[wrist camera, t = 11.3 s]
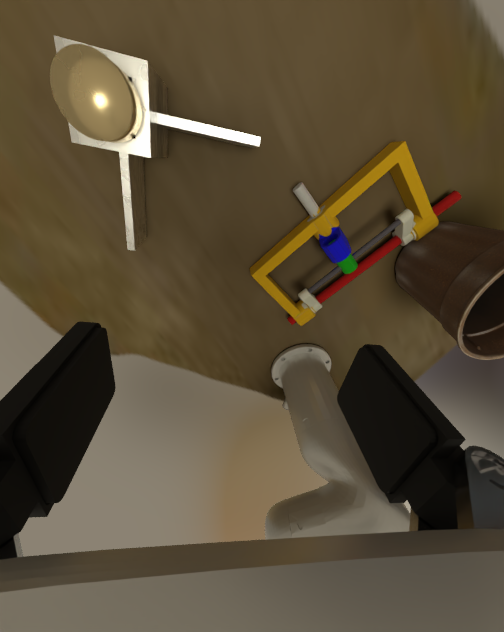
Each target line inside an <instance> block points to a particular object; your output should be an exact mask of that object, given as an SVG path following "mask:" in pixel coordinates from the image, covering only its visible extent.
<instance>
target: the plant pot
mask: <svg viewBox="0 0 504 632" xmlns="http://www.w3.org/2000/svg"><path fill="white" fill-rule="evenodd" d="M395 271H396V281H397V283H398V284H399V285H400V287H401V288H403V289H404V290H405V291H406V292H407V293H408V294H410V295H411V296H412V297H413V298H414V299H415V300H416V301H417V302H418V303H420V304H421V305H422V306H423V307H424V308H425V309H426V310H427V311H428V312H429V313H431V314H432V315H433V316H434V317H435V318H436V319H437V320H438V321H439V322H440V323H441V324H442V326H443V328H444V329H445V330H446V331H447V332H448V333H449V334H450V335H451V336H452V337H453V338H454V339H455V340H456V341H457V344H458V346H459V348H460V349H461V350H462V351H463V352H464V353H465V354H466V355H468V356H470V357H473V358H476V359H482V360H490V359H499V358H503V357H504V231H503V230H497V229H490V228H484V227H478V226H471V225H466V224H460V223H455V222H439V224H438V226H437V227H435V228H434V229H433V230H431V231H430V232H429V233H427V234H426V235H424V236H423V237H422V238H420V239H419V240H418V241H415V240H412V241H411V242H409V243H408V244H406V245H405V246H404V248H403V249H402V251H401V253H400V255H399V257H398V259H397V262H396V265H395Z"/></svg>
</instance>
